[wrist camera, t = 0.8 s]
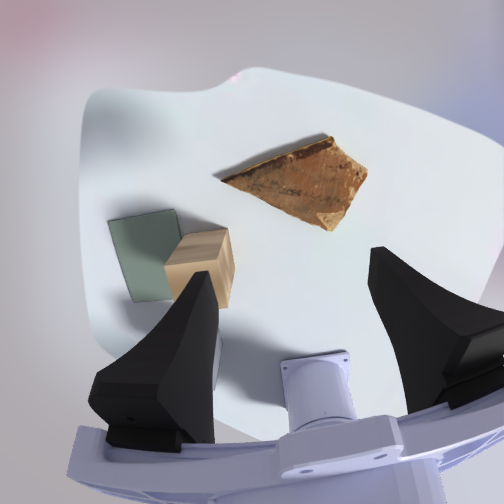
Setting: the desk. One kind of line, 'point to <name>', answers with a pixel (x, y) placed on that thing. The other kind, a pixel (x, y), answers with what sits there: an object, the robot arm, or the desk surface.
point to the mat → (146, 252)
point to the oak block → (203, 263)
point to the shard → (306, 182)
